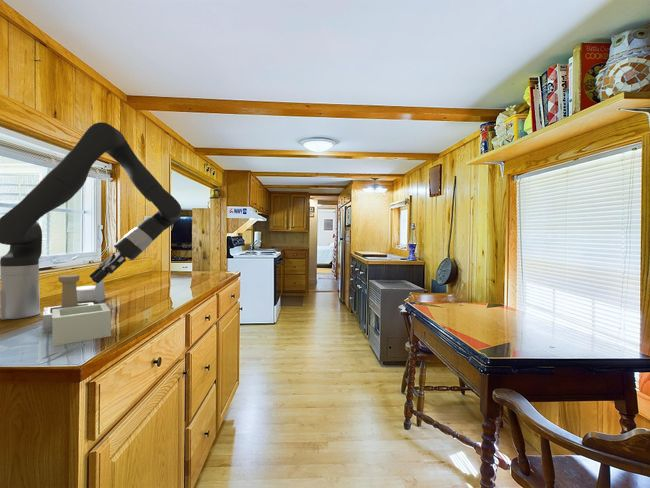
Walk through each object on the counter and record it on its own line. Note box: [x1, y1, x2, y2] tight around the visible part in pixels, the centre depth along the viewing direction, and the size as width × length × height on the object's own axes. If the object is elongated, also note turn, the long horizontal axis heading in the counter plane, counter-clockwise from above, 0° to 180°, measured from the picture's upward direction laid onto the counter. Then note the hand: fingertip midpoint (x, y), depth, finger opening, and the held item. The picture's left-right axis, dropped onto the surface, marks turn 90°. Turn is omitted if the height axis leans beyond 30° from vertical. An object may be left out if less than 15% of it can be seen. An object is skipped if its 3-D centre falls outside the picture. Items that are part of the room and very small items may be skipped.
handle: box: [58, 274, 80, 308], centre depth 95 cm, size 5×6×15 cm
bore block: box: [42, 301, 94, 334], centre depth 95 cm, size 12×12×5 cm
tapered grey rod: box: [93, 279, 106, 304], centre depth 115 cm, size 3×25×15 cm, turn 35°
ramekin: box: [76, 284, 96, 303], centre depth 131 cm, size 11×11×5 cm
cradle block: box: [52, 302, 112, 347], centre depth 85 cm, size 12×12×7 cm
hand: (93, 279), depth 99 cm, fingers open, 8 cm apart
